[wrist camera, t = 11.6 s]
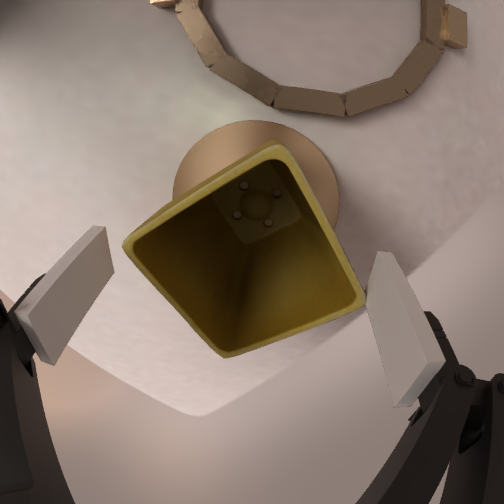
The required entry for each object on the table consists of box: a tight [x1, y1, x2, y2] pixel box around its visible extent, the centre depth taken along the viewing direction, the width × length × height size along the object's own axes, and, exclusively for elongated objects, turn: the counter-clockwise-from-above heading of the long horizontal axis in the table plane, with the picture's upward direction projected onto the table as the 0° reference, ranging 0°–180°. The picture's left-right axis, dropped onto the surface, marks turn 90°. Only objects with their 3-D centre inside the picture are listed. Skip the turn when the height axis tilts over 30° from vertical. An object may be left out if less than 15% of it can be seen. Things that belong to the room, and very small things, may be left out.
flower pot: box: [122, 140, 366, 358], centre depth 17 cm, size 9×9×9 cm
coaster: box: [173, 120, 339, 230], centre depth 22 cm, size 12×12×1 cm
